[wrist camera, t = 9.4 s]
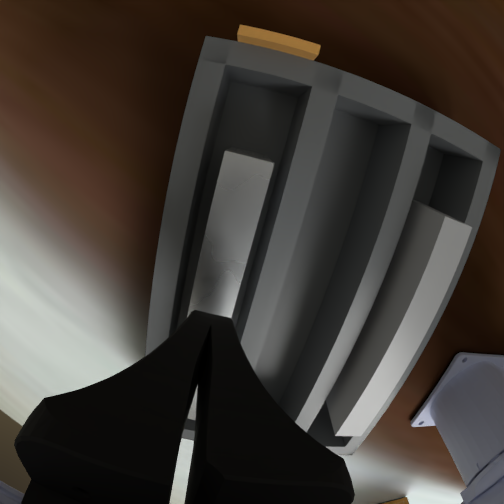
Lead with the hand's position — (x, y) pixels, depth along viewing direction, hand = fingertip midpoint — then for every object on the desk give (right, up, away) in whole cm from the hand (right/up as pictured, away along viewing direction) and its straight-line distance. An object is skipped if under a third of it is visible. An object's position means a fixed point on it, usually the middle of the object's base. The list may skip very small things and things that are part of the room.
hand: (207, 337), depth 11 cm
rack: (+4, +1, +7) cm, 8 cm away
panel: (0, +2, +6) cm, 6 cm away
